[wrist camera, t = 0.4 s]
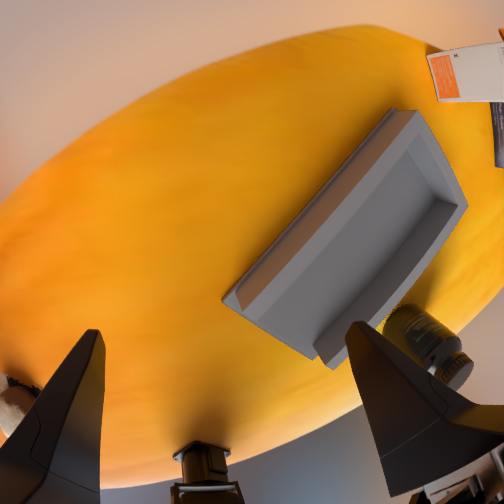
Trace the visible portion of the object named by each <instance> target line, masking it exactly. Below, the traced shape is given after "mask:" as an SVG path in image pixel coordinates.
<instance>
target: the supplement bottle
mask: <svg viewBox="0 0 504 504" xmlns="http://www.w3.org/2000/svg"><path fill="white" fill-rule="evenodd" d="M383 336H384V337H385V338H387V339H388V340H389V341H390V342H392V343H393V344H394V345H395V346H397V347H398V348H399V349H401V350H402V351H403V352H404V353H406V354H407V355H408V356H409V357H411V358H412V359H413V360H415V361H416V362H417V363H418V364H420V365H421V366H422V367H423V368H425V369H426V370H427V371H428V372H430V373H431V374H432V375H434V376H435V377H436V378H437V379H439V380H440V381H441V382H443V383H444V384H446V385H447V386H448V387H450V388H451V389H453V390H454V391H457V390H458V389H459V388H460V387H461V386H462V385H463V384H464V382H465V381H466V380H467V378H468V377H469V375H470V374H471V372H472V369H473V367H474V366H473V365H474V362H473V361H472V360H471V359H470V358H469V357H468V356H467V355H466V354H465V353H464V352H461V350H462V345H461V341H460V339H459V337H458V336H457V335H456V334H454V333H453V332H452V331H451V330H449V329H448V328H447V327H446V326H444V325H443V324H442V323H440V322H439V321H438V320H437V319H435V318H434V317H433V316H431V315H430V314H429V313H428V312H426V311H425V310H424V309H422V308H421V307H419V306H418V305H415V304H408V305H405V306H403V307H401V308H399V309H398V310H397V311H396V312H395V313H394V314H393V315H392V316H391V317H390V318H389V320H388V321H387V323H386V325H385V327H384V330H383Z"/></svg>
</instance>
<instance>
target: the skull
mask: <svg viewBox="0 0 504 504" xmlns="http://www.w3.org/2000/svg"><path fill="white" fill-rule="evenodd" d="M8 375H9V374H7V375H5V374H4V373H0V426H1V428H2V430H3V432H4V433H5V435H6V436H7V437H8V438H9V436H10V435H11V434H12V433H13V431H14V430H15V429H16V427H17V426H18V425H19V424H20V422H21V421H22V419H23V418H24V416H25V415H26V413H27V412H28V410H29V409H30V407H31V406H32V404H34V402H35V400H36V399H37V397H38V396H39V394H40V392H41V391H42V390H43V388H42V387H40V386H39V385H38V384H37V385H38V386H39V387H40V388H41V389H42V390H40V389H39V388H38V387H37V388H36V387H34V385H31V386H32V387H33V388H30V387H28V386H26V385H25V386H24V385H22V384H21V383H18V380H14V379H13V378H12V377H10V378H9V380H8ZM23 384H24V383H23Z"/></svg>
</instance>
